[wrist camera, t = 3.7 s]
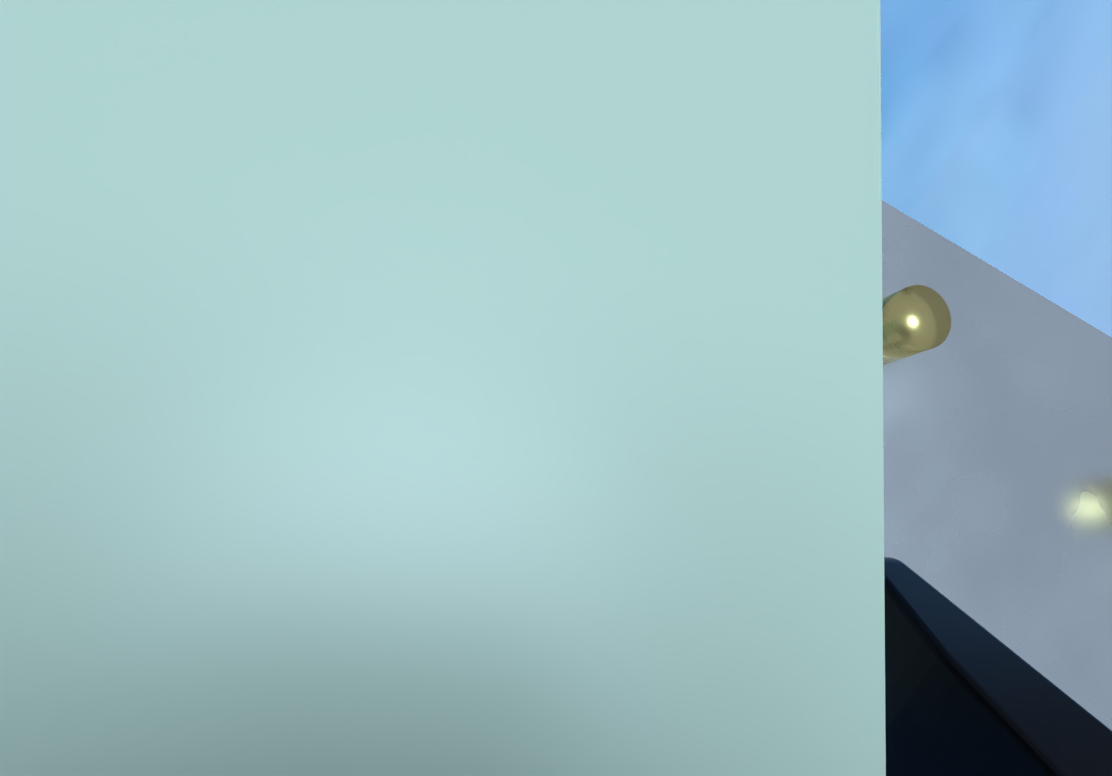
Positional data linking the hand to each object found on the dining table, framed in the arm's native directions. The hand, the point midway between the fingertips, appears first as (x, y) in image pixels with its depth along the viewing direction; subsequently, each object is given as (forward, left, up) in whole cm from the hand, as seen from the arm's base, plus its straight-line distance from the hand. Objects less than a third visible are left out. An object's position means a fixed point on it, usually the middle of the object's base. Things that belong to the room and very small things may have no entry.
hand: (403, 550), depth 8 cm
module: (+1, +1, -9) cm, 9 cm away
